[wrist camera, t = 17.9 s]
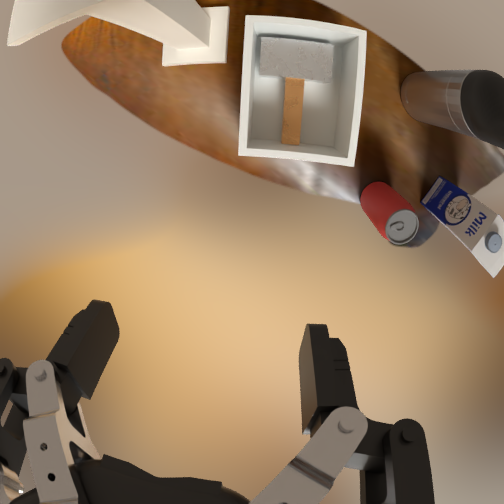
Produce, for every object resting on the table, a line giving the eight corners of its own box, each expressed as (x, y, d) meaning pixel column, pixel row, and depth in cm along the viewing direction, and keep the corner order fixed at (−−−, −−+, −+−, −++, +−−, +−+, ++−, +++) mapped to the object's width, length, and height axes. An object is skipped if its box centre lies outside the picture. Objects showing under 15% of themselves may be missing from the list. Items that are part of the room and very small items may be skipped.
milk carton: (438, 221, 47) (493, 279, 30) (419, 203, 46) (478, 259, 28) (458, 194, 44) (520, 244, 26) (439, 174, 42) (506, 220, 25)
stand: (236, 9, 31) (178, -110, 4) (232, 63, 36) (154, -6, 9) (163, 15, 31) (30, -50, 4) (159, 66, 36) (6, 52, 9)
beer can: (360, 179, 45) (385, 205, 34) (394, 180, 44) (425, 206, 34) (357, 215, 48) (379, 248, 38) (390, 215, 47) (417, 247, 37)
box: (346, 43, 33) (366, 31, 24) (337, 152, 43) (353, 166, 34) (250, 32, 33) (245, 15, 25) (244, 143, 43) (238, 155, 34)
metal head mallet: (328, 49, 33) (333, 44, 30) (320, 144, 41) (325, 148, 38) (262, 42, 33) (261, 36, 30) (256, 138, 42) (255, 142, 38)
